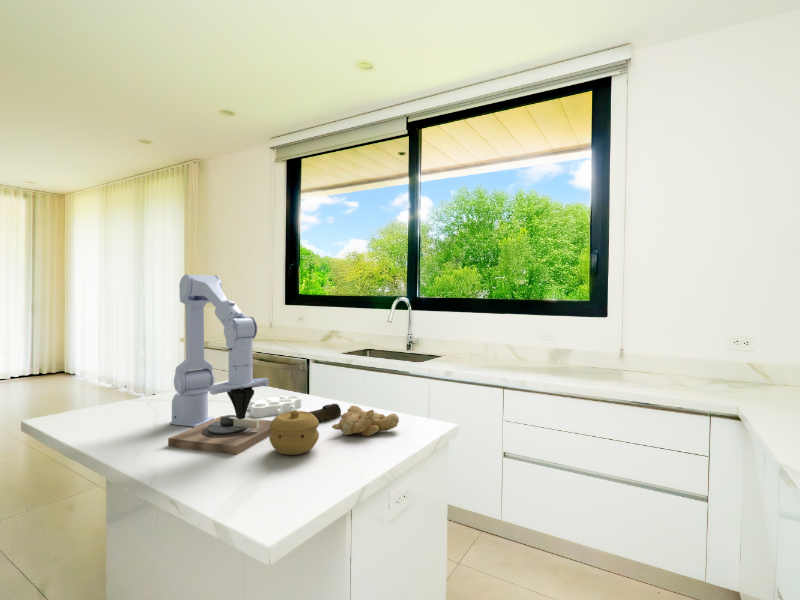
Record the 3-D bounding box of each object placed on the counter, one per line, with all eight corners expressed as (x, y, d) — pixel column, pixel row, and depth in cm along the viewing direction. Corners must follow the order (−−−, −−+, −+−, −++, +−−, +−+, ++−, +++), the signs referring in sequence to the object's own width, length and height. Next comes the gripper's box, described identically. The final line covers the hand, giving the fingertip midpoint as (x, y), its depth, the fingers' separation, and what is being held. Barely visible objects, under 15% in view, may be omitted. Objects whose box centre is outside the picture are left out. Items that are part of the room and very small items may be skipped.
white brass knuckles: (284, 401, 150) (310, 409, 141) (237, 412, 137) (262, 421, 127) (284, 392, 150) (310, 399, 141) (237, 402, 137) (262, 410, 127)
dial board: (168, 446, 105) (168, 437, 105) (221, 422, 124) (222, 415, 124) (236, 454, 100) (236, 445, 100) (281, 428, 119) (281, 421, 119)
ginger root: (320, 427, 116) (326, 398, 117) (361, 428, 127) (367, 402, 128) (357, 444, 105) (364, 411, 106) (399, 443, 117) (404, 414, 118)
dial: (199, 432, 108) (199, 420, 108) (225, 421, 118) (225, 410, 118) (246, 437, 105) (246, 425, 105) (268, 425, 114) (268, 414, 114)
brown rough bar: (288, 432, 117) (288, 415, 117) (281, 428, 120) (282, 412, 120) (345, 419, 129) (345, 404, 129) (338, 416, 132) (338, 401, 132)
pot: (275, 443, 108) (275, 404, 108) (321, 442, 109) (321, 403, 108) (264, 461, 96) (264, 417, 96) (315, 460, 97) (316, 417, 97)
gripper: (217, 370, 98) (217, 427, 99) (274, 363, 109) (274, 415, 109) (206, 366, 103) (206, 421, 104) (261, 360, 114) (262, 410, 114)
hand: (240, 418), depth 107 cm, fingers closed
